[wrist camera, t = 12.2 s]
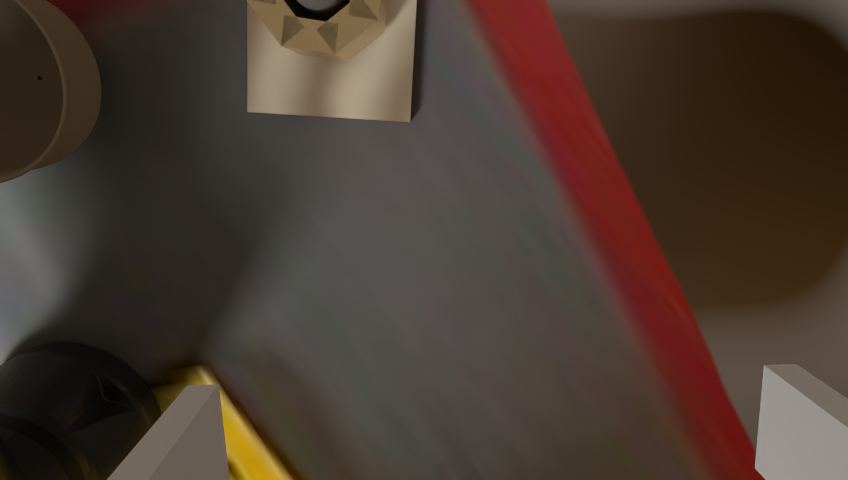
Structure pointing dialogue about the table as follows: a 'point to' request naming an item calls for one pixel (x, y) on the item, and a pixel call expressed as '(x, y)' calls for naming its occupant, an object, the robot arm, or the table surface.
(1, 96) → the bowl
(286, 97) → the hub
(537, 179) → the table surface
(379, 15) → the collar
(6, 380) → the robot arm
